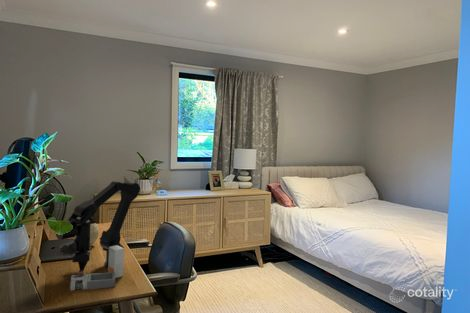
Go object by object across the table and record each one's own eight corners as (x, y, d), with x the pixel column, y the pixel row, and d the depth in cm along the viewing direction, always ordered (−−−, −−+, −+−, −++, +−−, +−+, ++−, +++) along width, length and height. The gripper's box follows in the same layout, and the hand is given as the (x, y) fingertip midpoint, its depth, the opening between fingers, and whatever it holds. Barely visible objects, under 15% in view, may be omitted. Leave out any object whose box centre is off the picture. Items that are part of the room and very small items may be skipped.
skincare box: (107, 274, 146) (108, 246, 145) (117, 271, 149) (118, 244, 148) (113, 278, 141) (114, 250, 141) (123, 276, 144) (124, 248, 144)
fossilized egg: (103, 244, 186) (104, 217, 185) (87, 251, 173) (88, 221, 173) (83, 241, 189) (84, 214, 188) (66, 247, 177) (67, 219, 176)
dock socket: (88, 281, 138) (88, 273, 138) (114, 278, 141) (114, 271, 141) (87, 289, 130) (87, 281, 130) (114, 286, 134) (115, 279, 134)
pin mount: (71, 284, 134) (72, 273, 134) (87, 282, 136) (88, 272, 136) (70, 290, 129) (70, 279, 128) (87, 289, 131) (87, 278, 130)
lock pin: (78, 277, 141) (78, 270, 140) (83, 277, 141) (83, 270, 141) (76, 288, 130) (76, 281, 130) (81, 288, 131) (82, 280, 131)
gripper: (64, 230, 150) (63, 265, 150) (58, 242, 132) (57, 282, 133) (91, 229, 154) (90, 263, 154) (89, 241, 136) (88, 279, 137)
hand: (81, 271), depth 144 cm, fingers closed
